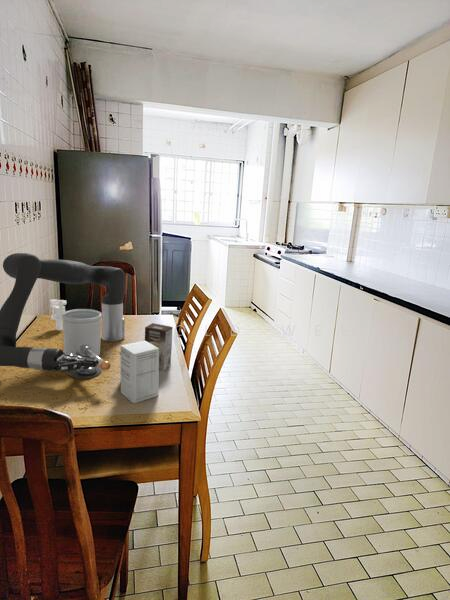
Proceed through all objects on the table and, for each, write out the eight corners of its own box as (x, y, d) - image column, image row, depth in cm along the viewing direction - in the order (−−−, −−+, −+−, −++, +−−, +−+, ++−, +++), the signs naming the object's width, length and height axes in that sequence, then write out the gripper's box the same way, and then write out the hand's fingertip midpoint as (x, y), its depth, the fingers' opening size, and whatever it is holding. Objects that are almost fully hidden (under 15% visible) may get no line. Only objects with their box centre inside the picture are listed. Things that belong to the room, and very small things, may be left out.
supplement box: (145, 385, 135) (145, 339, 131) (159, 396, 128) (160, 347, 125) (119, 392, 129) (119, 344, 125) (132, 404, 122) (133, 353, 118)
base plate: (77, 365, 148) (77, 364, 148) (105, 367, 148) (105, 366, 147) (64, 377, 137) (64, 376, 137) (95, 379, 137) (95, 378, 137)
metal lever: (73, 370, 142) (73, 346, 139) (92, 366, 146) (92, 342, 144) (97, 391, 127) (97, 365, 125) (117, 386, 131) (117, 360, 129)
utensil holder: (109, 353, 162) (109, 312, 158) (83, 364, 149) (82, 320, 145) (82, 346, 168) (81, 306, 164) (54, 356, 155) (53, 314, 151)
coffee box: (143, 366, 151) (143, 326, 147) (151, 360, 157) (152, 322, 153) (164, 370, 148) (165, 330, 145) (171, 365, 154) (173, 326, 151)
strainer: (49, 328, 188) (48, 298, 185) (65, 326, 192) (64, 297, 189) (53, 332, 183) (52, 301, 179) (69, 330, 187) (68, 300, 183)
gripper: (55, 362, 138) (103, 366, 137) (36, 377, 125) (88, 382, 124) (55, 342, 136) (103, 346, 136) (35, 355, 124) (88, 360, 123)
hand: (96, 363), depth 130 cm, fingers closed
